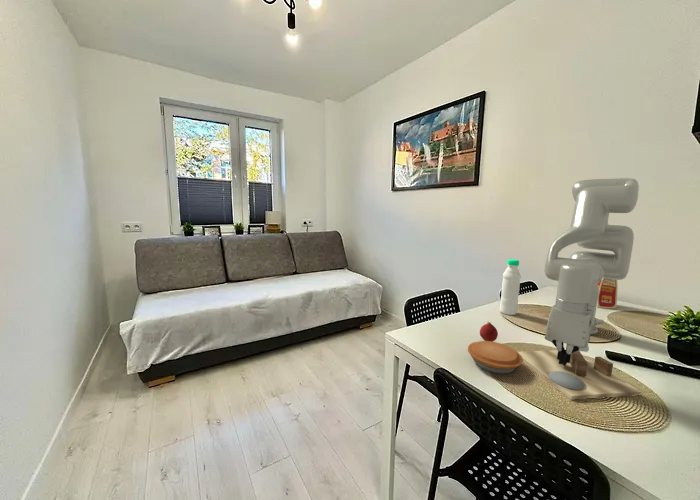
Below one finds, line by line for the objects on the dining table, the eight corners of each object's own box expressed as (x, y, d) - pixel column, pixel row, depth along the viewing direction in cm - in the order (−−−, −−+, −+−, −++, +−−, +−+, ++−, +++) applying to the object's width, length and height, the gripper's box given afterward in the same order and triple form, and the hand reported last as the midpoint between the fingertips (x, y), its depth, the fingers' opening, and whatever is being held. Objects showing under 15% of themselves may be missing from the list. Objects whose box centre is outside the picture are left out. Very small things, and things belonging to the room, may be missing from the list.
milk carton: (597, 307, 140) (603, 267, 137) (585, 301, 149) (591, 263, 146) (618, 309, 139) (625, 268, 135) (605, 302, 148) (611, 264, 144)
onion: (493, 339, 106) (494, 319, 105) (499, 347, 101) (501, 325, 99) (476, 338, 107) (478, 318, 106) (482, 346, 101) (484, 324, 100)
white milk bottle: (516, 316, 128) (522, 262, 124) (498, 313, 132) (503, 260, 128) (516, 311, 134) (522, 259, 130) (500, 308, 138) (505, 257, 133)
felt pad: (567, 371, 84) (567, 370, 84) (592, 389, 76) (592, 387, 76) (542, 373, 83) (542, 371, 83) (565, 390, 75) (565, 389, 75)
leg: (564, 352, 94) (565, 340, 93) (573, 354, 93) (575, 341, 92) (575, 374, 82) (577, 359, 82) (586, 376, 81) (588, 361, 81)
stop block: (598, 368, 86) (599, 356, 86) (611, 376, 82) (613, 363, 82) (593, 368, 86) (595, 356, 85) (606, 376, 82) (608, 364, 81)
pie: (457, 360, 92) (458, 346, 91) (482, 346, 101) (483, 333, 100) (506, 385, 80) (508, 368, 79) (530, 366, 89) (532, 351, 88)
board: (569, 352, 97) (570, 349, 97) (640, 395, 76) (641, 391, 75) (514, 355, 95) (514, 351, 95) (570, 400, 74) (571, 395, 74)
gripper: (606, 309, 81) (597, 369, 84) (545, 296, 92) (538, 349, 95) (602, 316, 76) (592, 379, 79) (537, 301, 87) (531, 357, 90)
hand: (563, 363), depth 87 cm, fingers closed
